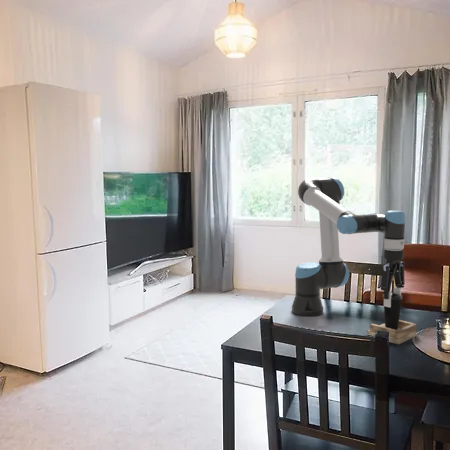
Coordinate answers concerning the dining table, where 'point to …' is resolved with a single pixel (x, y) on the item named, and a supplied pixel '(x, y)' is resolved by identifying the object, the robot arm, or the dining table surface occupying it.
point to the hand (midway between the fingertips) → (392, 304)
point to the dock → (396, 331)
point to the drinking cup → (393, 310)
